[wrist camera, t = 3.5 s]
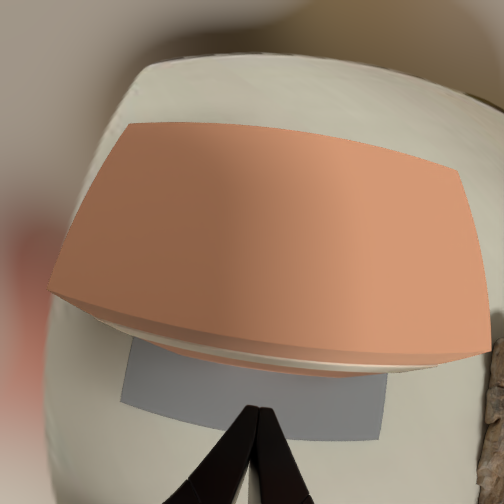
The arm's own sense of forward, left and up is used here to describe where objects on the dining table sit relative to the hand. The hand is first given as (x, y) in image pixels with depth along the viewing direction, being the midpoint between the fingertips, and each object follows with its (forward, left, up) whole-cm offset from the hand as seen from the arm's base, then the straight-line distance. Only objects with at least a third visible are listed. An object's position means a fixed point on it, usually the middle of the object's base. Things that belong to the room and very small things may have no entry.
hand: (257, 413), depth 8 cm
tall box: (+4, +2, -7) cm, 9 cm away
